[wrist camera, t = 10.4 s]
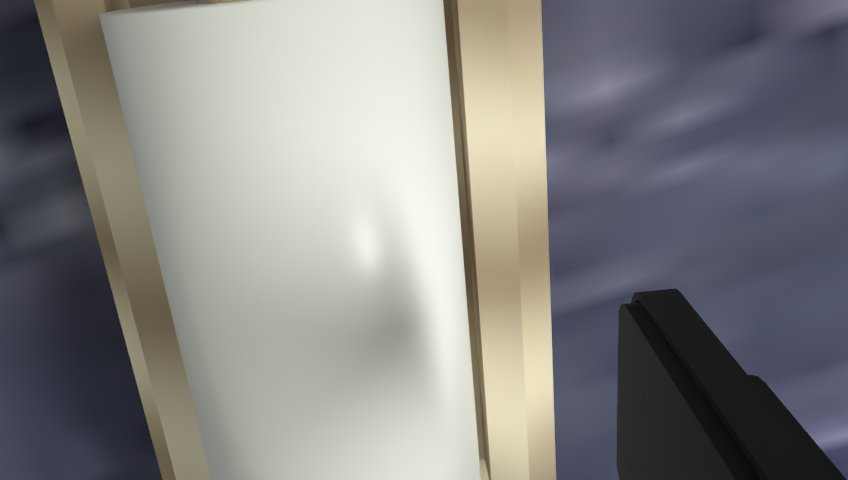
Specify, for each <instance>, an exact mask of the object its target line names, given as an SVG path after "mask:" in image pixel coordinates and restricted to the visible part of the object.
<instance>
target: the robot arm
mask: <svg viewBox="0 0 848 480" xmlns="http://www.w3.org/2000/svg"><path fill="white" fill-rule="evenodd" d="M617 469H618V475H619V479H620V480H846V479H845V477H844V476H843V475H842V474H841V473H840V471H839V470H838V469H837V468H836V467H835V465H834V464H833V463H832V462H831V461H830V460H829V458H828V457H827V456H826V455H825V454H824V452H823V451H822V450H821V449H820V448H819V446H818V445H817V444H816V443H815V442H814V440H813V439H812V438H811V437H810V436H809V434H808V433H807V432H806V431H805V430H804V429H803V427H802V426H801V425H800V424H799V423H798V421H797V420H796V419H795V418H794V417H793V415H792V414H791V413H790V412H789V411H788V409H787V408H786V407H785V406H784V405H783V403H782V402H781V401H780V400H779V399H778V398H777V396H776V395H775V394H774V393H773V392H772V390H771V389H770V388H769V387H768V386H767V384H766V383H765V382H764V381H762V380H761V379H760V378H759V377H758V376H753V375H747V374H746V373H745V371H744V370H743V369H742V368H741V366H740V365H739V364H738V363H737V361H736V360H735V359H734V358H733V357H732V355H731V354H730V353H729V352H728V350H727V349H726V348H725V347H724V345H723V344H722V343H721V342H720V341H719V339H718V338H717V337H716V336H715V334H714V333H713V332H712V331H711V329H710V328H709V327H708V326H707V325H706V323H705V322H704V321H703V320H702V318H701V317H700V316H699V315H698V314H697V312H696V311H695V310H694V309H693V307H692V306H691V305H690V304H689V302H688V301H687V300H686V299H685V298H684V296H683V295H682V294H681V293H680V292H679V291H678V290H677V289H667V290H657V291H647V292H637V293H635V294H634V295H633V297H632V301H631V303H630V304H622V305H621V306H620V309H619V334H618V401H617Z"/></svg>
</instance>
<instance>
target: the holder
mask: <svg viewBox="0 0 848 480" xmlns="http://www.w3.org/2000/svg"><path fill="white" fill-rule="evenodd" d="M181 1H189V0H34V3H35V7H36V10H37V14H38V18H39V22H40V25H41V29H42V33H43V36H44V40H45V44H46V48H47V51H48V55H49V59H50V63H51V66H52V70H53V74H54V77H55V81H56V85H57V89H58V92H59V96H60V100H61V103H62V107H63V111H64V115H65V118H66V122H67V126H68V130H69V133H70V137H71V141H72V144H73V148H74V152H75V156H76V159H77V163H78V167H79V170H80V174H81V178H82V182H83V185H84V189H85V193H86V197H87V200H88V204H89V208H90V211H91V215H92V219H93V223H94V226H95V230H96V234H97V237H98V241H99V245H100V249H101V252H102V256H103V260H104V264H105V267H106V271H107V275H108V278H109V282H110V286H111V290H112V293H113V297H114V301H115V305H116V308H117V312H118V316H119V319H120V323H121V327H122V331H123V334H124V338H125V342H126V345H127V349H128V353H129V357H130V360H131V364H132V368H133V372H134V375H135V379H136V383H137V386H138V390H139V394H140V398H141V401H142V405H143V409H144V412H145V416H146V420H147V424H148V427H149V431H150V435H151V439H152V442H153V446H154V450H155V453H156V457H157V461H158V465H159V468H160V472H161V476H162V479H163V480H211V476H210V472H209V468H208V464H207V460H206V456H205V452H204V447H203V443H202V439H201V435H200V431H199V427H198V423H197V418H196V414H195V410H194V406H193V402H192V398H191V394H190V389H189V385H188V381H187V377H186V373H185V369H184V365H183V360H182V356H181V352H180V348H179V344H178V340H177V336H176V331H175V327H174V323H173V319H172V315H171V311H170V307H169V302H168V298H167V294H166V290H165V286H164V282H163V278H162V273H161V269H160V265H159V261H158V257H157V253H156V249H155V244H154V240H153V236H152V232H151V228H150V224H149V220H148V215H147V211H146V207H145V203H144V199H143V195H142V191H141V186H140V182H139V178H138V174H137V170H136V166H135V162H134V157H133V153H132V149H131V145H130V141H129V137H128V133H127V128H126V124H125V120H124V116H123V112H122V108H121V104H120V99H119V95H118V91H117V87H116V83H115V79H114V75H113V70H112V66H111V62H110V58H109V54H108V50H107V46H106V41H105V37H104V33H103V29H102V25H101V21H100V17H99V14H101V13H106V12H111V11H116V10H122V9H129V8H136V7H143V6H150V5H157V4H165V3H173V2H181ZM443 5H444V18H445V30H446V43H447V56H448V69H449V81H450V94H451V107H452V119H453V132H454V145H455V158H456V170H457V183H458V196H459V208H460V221H461V234H462V246H463V259H464V272H465V285H466V297H467V310H468V323H469V335H470V348H471V361H472V374H473V386H474V399H475V412H476V424H477V437H478V450H479V463H480V475H481V480H556V462H555V430H554V398H553V366H552V334H551V302H550V271H549V239H548V207H547V175H546V143H545V111H544V79H543V48H542V16H541V0H443Z"/></svg>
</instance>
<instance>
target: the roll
mask: <svg viewBox="0 0 848 480" xmlns="http://www.w3.org/2000/svg"><path fill="white" fill-rule="evenodd" d="M99 17H100V21H101V25H102V29H103V33H104V37H105V41H106V46H107V50H108V54H109V58H110V62H111V66H112V70H113V75H114V79H115V83H116V87H117V91H118V95H119V99H120V104H121V108H122V112H123V116H124V120H125V124H126V128H127V133H128V137H129V141H130V145H131V149H132V153H133V157H134V162H135V166H136V170H137V174H138V178H139V182H140V186H141V191H142V195H143V199H144V203H145V207H146V211H147V215H148V220H149V224H150V228H151V232H152V236H153V240H154V244H155V249H156V253H157V257H158V261H159V265H160V269H161V273H162V278H163V282H164V286H165V290H166V294H167V298H168V302H169V307H170V311H171V315H172V319H173V323H174V327H175V331H176V336H177V340H178V344H179V348H180V352H181V356H182V360H183V365H184V369H185V373H186V377H187V381H188V385H189V389H190V394H191V398H192V402H193V406H194V410H195V414H196V418H197V423H198V427H199V431H200V435H201V439H202V443H203V447H204V452H205V456H206V460H207V464H208V468H209V472H210V476H211V480H481V475H480V463H479V450H478V437H477V424H476V412H475V399H474V386H473V374H472V361H471V348H470V335H469V323H468V310H467V297H466V285H465V272H464V259H463V246H462V234H461V221H460V208H459V196H458V183H457V170H456V158H455V145H454V132H453V119H452V107H451V94H450V81H449V69H448V56H447V43H446V30H445V18H444V5H443V0H189V1H181V2H173V3H165V4H157V5H150V6H143V7H136V8H129V9H122V10H116V11H111V12H106V13H101V14H99Z"/></svg>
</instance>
